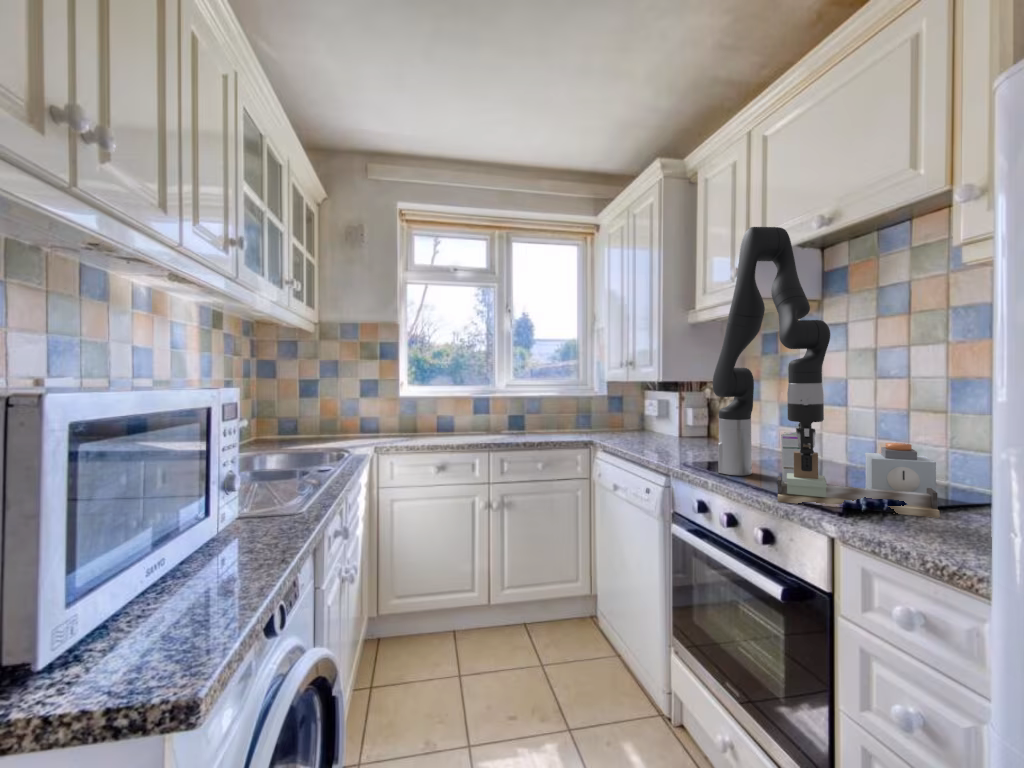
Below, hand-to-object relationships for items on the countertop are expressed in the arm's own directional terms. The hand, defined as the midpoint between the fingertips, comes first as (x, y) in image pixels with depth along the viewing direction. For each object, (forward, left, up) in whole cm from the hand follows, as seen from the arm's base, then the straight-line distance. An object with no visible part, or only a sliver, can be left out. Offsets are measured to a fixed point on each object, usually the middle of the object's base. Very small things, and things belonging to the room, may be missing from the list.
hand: (806, 467), depth 116 cm
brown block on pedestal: (0, 0, -6) cm, 6 cm away
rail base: (+9, 0, -8) cm, 12 cm away
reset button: (+20, +13, +2) cm, 24 cm away
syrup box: (-2, +18, -8) cm, 20 cm away
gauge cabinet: (+20, +13, -8) cm, 25 cm away
